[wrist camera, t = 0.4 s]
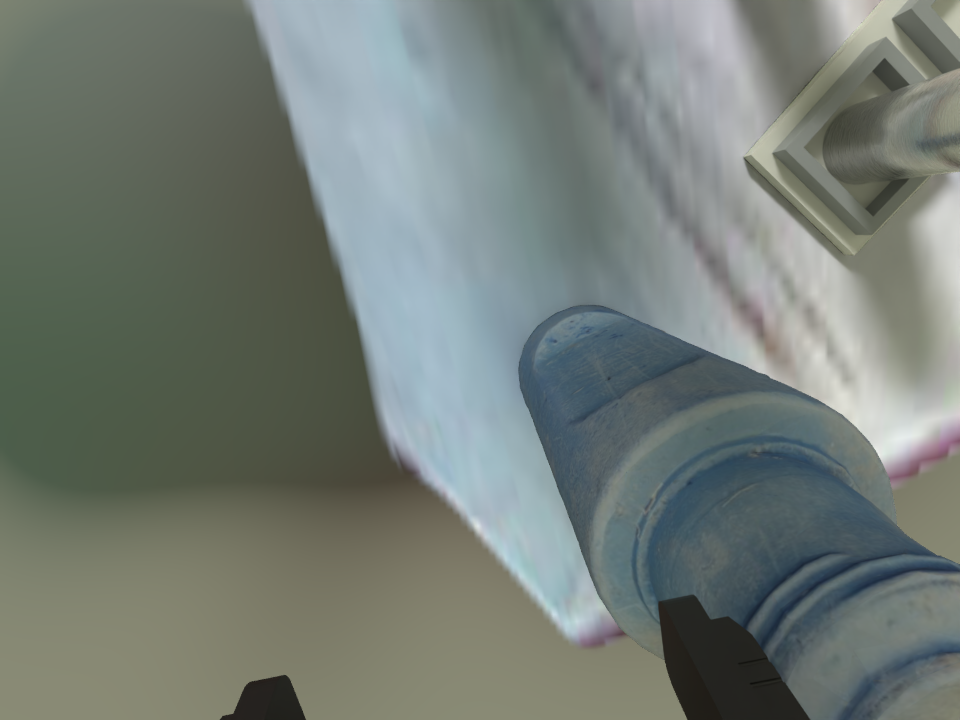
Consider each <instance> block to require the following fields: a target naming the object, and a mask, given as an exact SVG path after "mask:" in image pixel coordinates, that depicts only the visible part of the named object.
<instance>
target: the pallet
mask: <svg viewBox="0 0 960 720" xmlns="http://www.w3.org/2000/svg"><path fill="white" fill-rule="evenodd" d="M959 68H960V0H882V1H881V2H880V3H879V4H878V5H877V6H876V7H875V9H874V10H873V11H872V12H871V13H870V14H869V15H868V16H867V18H866V19H865V20H864V21H863V22H862V23H861V24H860V26H859V27H858V28H857V29H856V30H855V31H854V32H853V33H852V35H851V36H850V37H849V38H848V39H847V40H846V41H845V43H844V44H843V45H842V46H841V47H840V48H839V49H838V51H837V52H836V53H835V54H834V55H833V56H832V57H831V58H830V60H829V61H828V62H827V63H826V64H825V65H824V66H823V68H822V69H821V70H820V71H819V72H818V73H817V74H816V75H815V77H814V78H813V79H812V80H811V81H810V82H809V83H808V85H807V86H806V87H805V88H804V89H803V90H802V91H801V93H800V94H799V95H798V96H797V97H796V98H795V99H794V100H793V102H792V103H791V104H790V105H789V106H788V107H787V108H786V110H785V111H784V112H783V113H782V114H781V115H780V116H779V117H778V119H777V120H776V121H775V122H774V123H773V124H772V125H771V127H770V128H769V129H768V130H767V131H766V132H765V133H764V134H763V136H762V137H761V138H760V139H759V140H758V141H757V142H756V144H755V145H754V146H753V147H752V148H751V149H750V150H749V152H748V153H747V154H746V155H745V156H744V158H745V159H746V160H747V161H748V162H749V163H750V164H751V165H752V166H753V167H754V168H755V169H756V170H757V171H758V172H759V173H760V174H762V175H763V176H764V177H765V178H766V179H767V180H768V181H769V182H770V183H771V184H772V185H773V186H774V187H775V188H776V189H777V190H778V191H779V192H780V193H781V194H782V195H783V196H784V197H785V198H786V199H787V200H788V201H789V202H790V203H792V204H793V205H794V206H795V207H796V208H797V209H798V210H799V211H800V212H801V213H802V214H803V215H804V216H805V217H806V218H807V219H808V220H809V221H810V222H811V223H812V224H813V225H814V226H815V227H816V228H817V229H818V230H819V231H821V232H822V233H823V234H824V235H825V236H826V237H827V238H828V239H829V240H830V241H831V242H832V243H833V244H834V245H835V246H836V247H837V248H838V249H839V250H840V251H841V252H842V253H843V254H844V255H855V254H856V253H857V252H858V251H859V250H860V249H861V248H862V247H863V246H864V245H865V244H866V243H867V242H868V241H869V240H870V239H871V238H872V237H873V236H874V235H875V234H876V233H877V232H878V231H879V229H880V228H881V227H882V226H883V225H884V224H885V223H886V222H887V221H888V220H889V219H890V218H891V217H892V216H893V215H894V214H895V213H896V212H897V211H898V210H899V209H900V208H901V207H902V206H903V205H904V204H905V202H906V201H907V200H908V199H909V198H910V197H911V196H912V195H913V194H914V193H915V192H916V191H917V190H918V189H919V188H920V187H921V186H922V185H923V184H924V183H925V182H926V181H927V180H928V179H929V178H930V177H931V176H932V175H930V176H922V177H914V178H906V179H898V180H890V181H882V182H875V183H867V184H858V185H853V184H847V183H843V182H841V181H839V180H838V179H836V178H835V177H834V176H832V174H831V173H830V172H829V171H828V169H827V167H826V165H825V163H824V159H823V153H822V147H823V140H824V136H825V133H826V131H827V129H828V127H829V125H830V124H831V122H832V121H833V119H834V118H835V117H836V116H837V115H838V114H839V113H840V112H841V111H843V110H844V109H846V108H847V107H849V106H851V105H853V104H856V103H859V102H862V101H865V100H868V99H871V98H874V97H877V96H880V95H883V94H885V93H888V92H891V91H894V90H897V89H900V88H903V87H906V86H909V85H912V84H915V83H918V82H921V81H924V80H926V79H929V78H932V77H935V76H938V75H941V74H944V73H947V72H950V71H953V70H956V69H959Z"/></svg>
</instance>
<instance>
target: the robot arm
mask: <svg viewBox="0 0 960 720" xmlns="http://www.w3.org/2000/svg"><path fill="white" fill-rule="evenodd" d="M658 611H659V619H660V627H661V636H662V644H663V652H664V659H665V663H666V667H667V671H668V674H669V677H670V680H671V683H672V686H673V688H674V691H675V693H676V695H677V697H678V700H679V702H680V704H681V706H682V708H683V711H684V712H685V715H686V717H687V720H810V718H809V717H808V715H807V714H806V712H805V711H804V709H803V708H802V707H801V705H800V704H799V702H798V701H797V699H796V698H795V696H794V695H793V693H792V692H791V690H790V689H789V688H788V686H787V685H786V683H785V682H783V681H782V678H781V676H780V674H779V673H778V672H777V670H776V669H775V667H774V666H773V664H772V663H771V662H769V660H768V657H767V656H766V654H765V653H764V651H763V650H762V648H761V647H760V645H759V644H758V642H757V641H756V639H755V638H754V637H753V635H752V634H751V633H750V632H748V631H747V630H746V629H744V628H743V627H742V626H741V625H739V624H738V623H737V622H735V621H734V620H733V619H731V618H730V617H729V616H726V617H721V618H716V619H710V618H709V616H708V614H707V613H706V611H705V610H704V608H703V606H702V605H701V603H700V601H699V600H698V598H697V597H696V596H695V595H693V594H692V595H687V596H682V597H677V598H672V599H667V600H662V601H659V602H658ZM220 720H306V719H305V716H304V714H303V711H302V708H301V706H300V704H299V701H298V699H297V696H296V694H295V691H294V688H293V686H292V683H291V681H290V679H289V678H288V677H287V676H286V675H282V676H277V677H272V678H268V679H262V680H258V681H252V682H249V683H248V684H247V685H246V686H245V688H244V690H243V692H242V694H241V697H240V700H239V702H238V704H237V706H236V709H235V711H234V713H233V714H230V715H225V716H222V718H221V719H220Z"/></svg>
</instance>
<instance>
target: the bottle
mask: <svg viewBox="0 0 960 720" xmlns="http://www.w3.org/2000/svg"><path fill="white" fill-rule="evenodd" d="M518 371H519V381H520V389H521V392H522V394H523V398H524V400H525V403H526V405H527V407H528V409H529V411H530V414H531V417H532V419H533V422H534V425H535V427H536V430H537V433H538V436H539V438H540V441H541V443H542V446H543V448H544V451H545V454H546V457H547V460H548V463H549V465H550V467H551V470H552V473H553V476H554V478H555V481H556V484H557V487H558V490H559V493H560V495H561V497H562V500H563V502H564V504H565V507H566V510H567V513H568V515H569V518H570V521H571V523H572V526H573V529H574V532H575V535H576V537H577V540H578V542H579V545H580V549H581V552H582V555H583V557H584V560H585V562H586V565H587V568H588V570H589V573H590V576H591V578H592V581H593V583H594V586H595V588H596V591H597V593H598V595H599V597H600V599H601V600H602V602H603V603H604V605H605V606H606V608H607V610H608V611H609V613H610V614H611V616H612V617H613V619H614V620H615V622H616V623H617V625H618V626H619V628H620V629H621V630H622V631H623V632H625V633H626V634H627V635H628V636H629V637H630V638H632V639H633V640H634V641H635V642H636V643H637V644H639V645H640V646H641V647H642V648H644V649H646V650H647V651H649V652H651V653H653V654H654V655H656V656H658V657H660V658H661V659H663V660H665V659H664V652H663V644H662V636H661V627H660V619H659V611H658V602H659V601H662V600H667V599H672V598H677V597H682V596H687V595H692V594H693V595H695V596H696V597H697V598H698V600H699V601H700V603H701V605H702V606H703V608H704V610H705V611H706V613H707V614H708V616H709V618H710V619H716V618H721V617H726V616H729V617H730V618H731V619H733V620H734V621H735V622H737V623H738V624H739V625H741V626H742V627H743V628H744V629H746V630H747V631H748V632H750V633H751V634H752V635H753V637H754V638H755V639H756V641H757V642H758V644H759V645H760V647H761V648H762V650H763V651H764V653H765V654H766V656H767V657H768V660H769V662H771V663H772V664H773V666H774V667H775V669H776V670H777V672H778V673H779V674H780V676H781V678H782V681H783V682H785V683H786V685H787V686H788V688H789V689H790V690H791V692H792V693H793V695H794V696H795V698H796V699H797V701H798V702H799V704H800V705H801V707H802V708H803V709H804V711H805V712H806V714H807V715H808V717H809V718H810V720H960V564H958V563H955V562H953V561H951V560H949V559H946V558H944V557H941V556H937V555H936V554H934V553H933V552H931V551H929V550H928V549H926V548H925V547H923V546H922V545H920V544H919V543H917V542H916V541H914V540H913V539H911V538H910V537H909V536H907V535H906V534H905V533H904V532H903V531H902V530H901V529H900V528H899V527H898V526H897V521H896V509H895V504H894V500H893V495H892V489H891V484H890V479H889V477H888V474H887V472H886V470H885V468H884V466H883V464H882V462H881V460H880V458H879V456H878V454H877V453H876V451H875V449H874V448H873V446H872V445H871V444H870V442H869V441H868V440H867V439H866V437H865V436H864V435H863V434H862V433H861V432H860V431H859V430H858V429H857V428H856V427H855V426H854V425H853V424H852V423H851V422H850V421H848V420H847V419H846V418H845V417H844V416H843V415H842V414H840V413H838V412H837V411H835V410H833V409H832V408H830V407H829V406H827V405H825V404H824V403H822V402H820V401H819V400H817V399H815V398H813V397H811V396H809V395H807V394H805V393H802V392H800V391H798V390H796V389H794V388H792V387H790V386H788V385H785V384H783V383H781V382H778V381H776V380H773V379H771V378H770V377H769V376H767V375H765V374H761V373H758V372H756V371H754V370H752V369H749V368H748V367H746V366H744V365H741V364H738V363H736V362H733V361H730V360H728V359H725V358H722V357H720V356H718V355H716V354H713V353H711V352H708V351H706V350H704V349H701V348H699V347H697V346H694V345H692V344H689V343H687V342H685V341H682V340H681V339H679V338H676V337H674V336H672V335H669V334H667V333H665V332H664V331H662V330H659V329H657V328H654V327H652V326H650V325H647V324H645V323H642V322H640V321H638V320H635V319H633V318H630V317H628V316H626V315H624V314H621V313H619V312H617V311H614V310H612V309H609V308H606V307H603V306H596V305H585V306H576V307H571V308H569V309H566V310H563V311H561V312H558V313H556V314H554V315H553V316H551V317H550V318H548V319H547V320H546V321H544V322H543V323H541V324H540V325H539V326H538V327H537V328H536V329H535V330H534V331H533V333H532V334H531V336H530V338H529V339H528V341H527V342H526V344H525V345H524V349H523V352H522V355H521V358H520V362H519V370H518Z"/></svg>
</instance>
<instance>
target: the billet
mask: <svg viewBox="0 0 960 720" xmlns="http://www.w3.org/2000/svg"><path fill="white" fill-rule="evenodd" d="M822 153H823V159H824V163H825V165H826V167H827V169H828V171H829V172H830V173H831V174H832V176H834V177H835V178H836V179H838V180H839V181H841V182H843V183H847V184H853V185H858V184H867V183H875V182H882V181H890V180H898V179H906V178H914V177H922V176H930V175H938V174H946V173H954V172H960V68H959V69H956V70H953V71H950V72H947V73H944V74H941V75H938V76H935V77H932V78H929V79H926V80H924V81H921V82H918V83H915V84H912V85H909V86H906V87H903V88H900V89H897V90H894V91H891V92H888V93H885V94H883V95H880V96H877V97H874V98H871V99H868V100H865V101H862V102H859V103H856V104H853V105H851V106H849V107H847V108H846V109H844V110H843V111H841V112H840V113H839V114H838V115H837V116H836V117H835V118H834V119H833V121H832V122H831V124H830V125H829V127H828V129H827V131H826V133H825V136H824V140H823V147H822Z"/></svg>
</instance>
